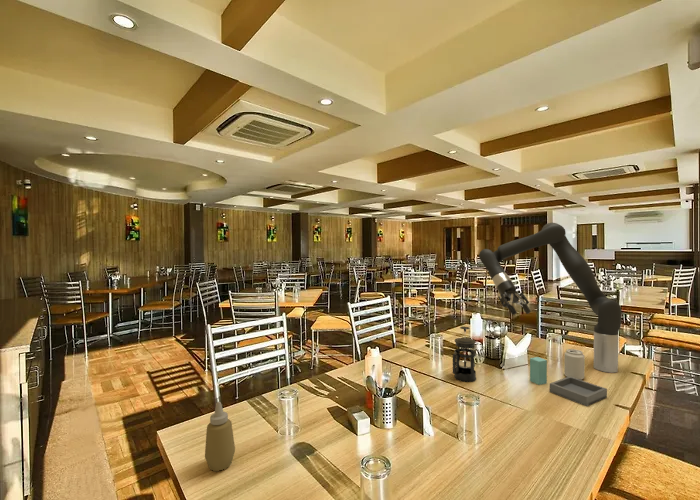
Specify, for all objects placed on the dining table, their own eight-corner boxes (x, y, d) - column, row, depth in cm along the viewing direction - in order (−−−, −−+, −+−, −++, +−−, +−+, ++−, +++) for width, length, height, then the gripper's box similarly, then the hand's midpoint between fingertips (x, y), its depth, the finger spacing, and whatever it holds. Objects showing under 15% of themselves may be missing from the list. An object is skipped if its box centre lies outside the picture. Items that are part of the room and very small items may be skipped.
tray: (569, 384, 146) (569, 376, 146) (606, 397, 134) (607, 388, 134) (549, 391, 140) (549, 383, 139) (586, 406, 127) (587, 397, 127)
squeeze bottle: (210, 457, 101) (208, 396, 101) (238, 455, 102) (236, 395, 101) (200, 476, 93) (198, 410, 93) (231, 473, 94) (229, 408, 93)
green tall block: (537, 379, 152) (538, 356, 151) (546, 383, 148) (546, 360, 147) (529, 380, 150) (530, 358, 150) (538, 385, 146) (538, 361, 146)
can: (578, 374, 156) (578, 348, 156) (588, 381, 149) (588, 353, 149) (561, 373, 157) (561, 347, 157) (569, 380, 150) (570, 353, 149)
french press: (466, 372, 161) (466, 323, 160) (482, 379, 152) (482, 327, 152) (446, 376, 156) (446, 326, 155) (461, 384, 148) (461, 331, 147)
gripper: (497, 279, 161) (515, 309, 152) (519, 279, 167) (538, 308, 157) (488, 289, 167) (505, 318, 157) (510, 288, 172) (527, 316, 162)
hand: (521, 313), depth 157 cm, fingers open, 8 cm apart
